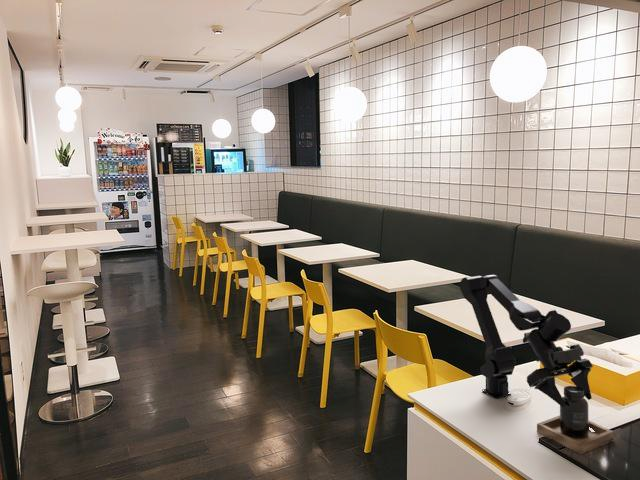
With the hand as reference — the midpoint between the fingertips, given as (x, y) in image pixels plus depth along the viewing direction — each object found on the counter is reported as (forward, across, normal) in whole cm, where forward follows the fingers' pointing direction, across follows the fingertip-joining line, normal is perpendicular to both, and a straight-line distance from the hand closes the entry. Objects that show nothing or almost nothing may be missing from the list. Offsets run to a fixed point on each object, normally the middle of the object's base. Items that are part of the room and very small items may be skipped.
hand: (577, 402), depth 134 cm
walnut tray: (+6, 0, +7) cm, 10 cm away
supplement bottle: (+6, 0, +7) cm, 9 cm away
